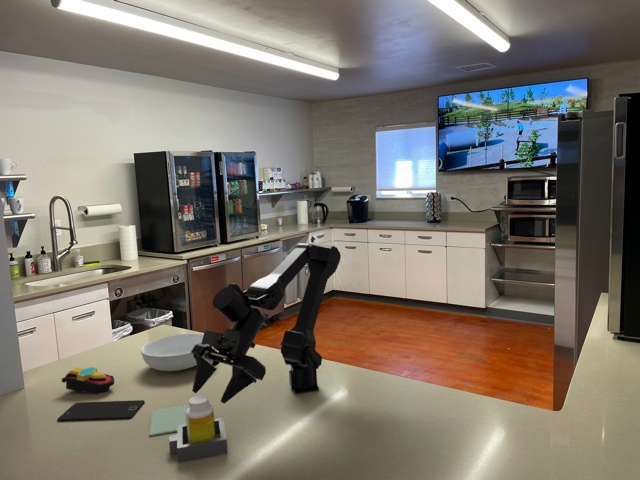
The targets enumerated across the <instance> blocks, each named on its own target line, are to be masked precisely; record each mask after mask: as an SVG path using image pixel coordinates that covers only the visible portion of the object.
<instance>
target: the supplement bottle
mask: <svg viewBox="0 0 640 480" xmlns="http://www.w3.org/2000/svg"><path fill="white" fill-rule="evenodd" d="M188 405H189V408H188V409H187V410H186V422H187V434H188V439H187V444H190V443H195V442H201V441H206V440H212V439H216V434H215V425H214V419H215V414H214V412H215V411H214V407H213V405H212V404H211V403H210V400H209V396H207V395H201V394H200V395H195V396H192V397H191V398H190V399H189V400H188Z"/></svg>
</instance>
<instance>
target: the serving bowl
mask: <svg viewBox="0 0 640 480" xmlns="http://www.w3.org/2000/svg"><path fill="white" fill-rule="evenodd" d="M203 335H204V333H195V332H194V333H178V334H173V335H168V336H164V337H160V338H157V339H154V340H152V341H150V342H148V343H146V344H144V345H143V346H142V347H141V348H140V353H141V356H142V359H143V361H144V362H145V364H147V365H148V366H149V367H150V368H152V369H155V370H156V371H163V372H174V371H175V372H177V371H178V372H179V371H184V370H187V369H190V368H192V367H195V366H196V367H197V363H196V359H195V358H193V355H194V354H192V353H191V351H192V349H193V348H194V346H195V345H196V344H198V343H202V339H203ZM206 345H207V344H206ZM209 346H210V345H209Z"/></svg>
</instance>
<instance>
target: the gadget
mask: <svg viewBox="0 0 640 480" xmlns="http://www.w3.org/2000/svg"><path fill="white" fill-rule="evenodd" d="M61 382H62V383H64V384H65V389H66V390H69V391H73V392H74V391H75V392H77V393H87V394H91V395H100V394H104V393H107V392H109V391H110V389H111V387H112V386H113V385H115V378H114V375H109V374H106V373H102V372H100V371H98V368H97V367H94V366H90V367H87V368H80V367H75V368H72V369H71V370H70V371H69V372H68V373H66V374H65V376H64V377H62V378H61Z"/></svg>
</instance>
